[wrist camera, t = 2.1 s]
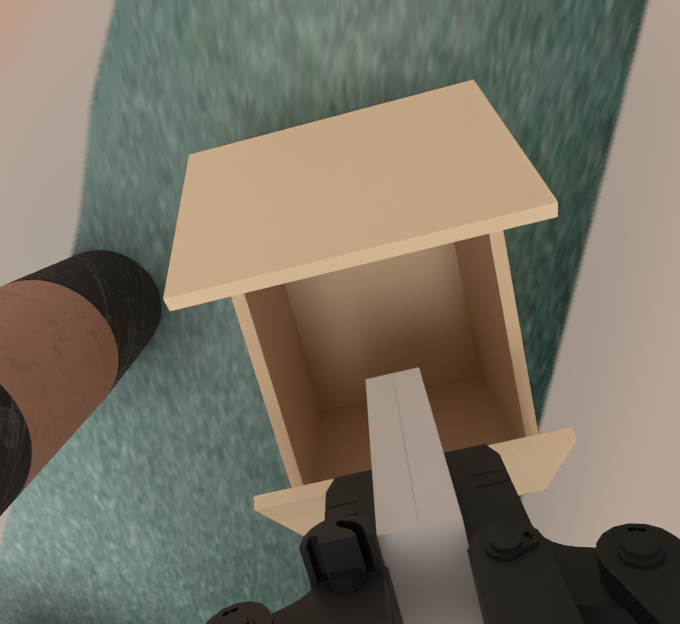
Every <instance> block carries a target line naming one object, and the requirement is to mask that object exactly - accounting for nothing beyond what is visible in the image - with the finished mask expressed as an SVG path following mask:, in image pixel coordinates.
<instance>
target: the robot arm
mask: <svg viewBox="0 0 680 624" xmlns="http://www.w3.org/2000/svg"><path fill="white" fill-rule="evenodd" d="M365 380H366V394H367V408H368V422H369V436H370V449H371V463H372V470H367V471H363V472H358V473H353V474H349V475H344V476H339V477H335V479H334V480H333V482H332V483H331V485H330V487H329V488H328V490H327V491H326V499H325V517H324V521H322V522H320V523H319V524H317V525H316V526H314V527H312V528H311V529H310V530H309V531H308V532H307V534H306V535H305V536H304V537H303V539H302V541H301V544H300V547H299V549H300V552H301V555H302V558H303V561H304V564H305V567H306V570H307V573H308V576H309V579H310V583H311V590H310V591H309V593H307V594H306V595H305V596H304V597H302V598H301V599H300V600H298V601H296V602H295V603H293V604H291V605H289V606H287V607H285V608H283V609H281V610H279V611H277V612H274V613H272V614H270V611H269V609H267V608H266V607H265V606H264V605H262V604H261V603H256V602H251V601H247V602H241V603H235V604H233V605H231V606H229V607H227V608H225V609H222V610H221V611H220V612H218V613H217V614H216V615H215V616H213V617H212V618H211V619H209V621H208V622H207V623H206V624H680V539H679V538H677V537H676V536H674V535H672V534H671V533H669V532H667V531H666V530H664V529H662V528H659V527H655V526H651V525H648V524H624V525H620V526H616V527H613V528H611V529H609V530H608V531H606V532H604V533H603V534H602V535H601V537H600V538H599V540H598V541H597V543H596V548H591V547H573V546H566V545H562V544H558V543H555V542H552V541H550V540H548V539H546V538H544V537H543V536H542V534H541V533H540V532H539V531H538V529H535V528H534V527H533V526H532V524H531V522H530V520H529V518H528V515H527V513H526V511H525V509H524V507H523V504H522V502H521V500H520V498H519V496H518V493H517V491H516V489H515V487H514V485H513V482H512V481H511V478H510V476H509V474H508V471H507V470H506V467H505V465H504V462H503V460H502V458H501V456H500V454H499V453H498V452H496V451H495V450H493V449H492V448H490V447H489V446H488V445H486V444H482V445H477V446H472V447H468V448H463V449H458V450H454V451H449V452H444V453H443V449H442V446H441V442H440V439H439V435H438V432H437V428H436V425H435V421H434V418H433V414H432V411H431V407H430V404H429V401H428V397H427V394H426V390H425V387H424V383H423V380H422V376H421V373H420V369H419V367H418V368H414V369H409V370H405V371H400V372H396V373H391V374H387V375H383V376H378V377H374V378H369V379H365Z"/></svg>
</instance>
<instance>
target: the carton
mask: <svg viewBox="0 0 680 624" xmlns="http://www.w3.org/2000/svg"><path fill="white" fill-rule="evenodd" d="M231 298H232V301H233V305H234V308H235V311H236V314H237V317H238V320H239V323H240V327H241V330H242V333H243V336H244V339H245V342H246V346H247V349H248V352H249V355H250V358H251V361H252V365H253V368H254V371H255V374H256V377H257V380H258V384H259V387H260V390H261V393H262V396H263V399H264V403H265V406H266V409H267V412H268V415H269V418H270V421H271V425H272V428H273V431H274V434H275V437H276V440H277V444H278V447H279V450H280V453H281V456H282V459H283V463H284V466H285V469H286V472H287V475H288V478H289V482H290V485H291V488H294V487H298V486H303V485H307V484H312V483H317V482H321V481H326V480H331V479H335V477H339V476H344V475H349V474H353V473H358V472H363V471H367V470H372V463H371V449H370V436H369V422H368V408H367V394H366V380H365V379H369V378H374V377H378V376H383V375H387V374H391V373H396V372H400V371H405V370H409V369H414V368H418V367H419V369H420V373H421V376H422V380H423V383H424V387H425V390H426V394H427V397H428V401H429V404H430V407H431V411H432V414H433V418H434V421H435V425H436V428H437V432H438V435H439V439H440V442H441V446H442V449H443V453H444V452H449V451H454V450H458V449H463V448H468V447H472V446H477V445H482V444H486V445H492V444H497V443H501V442H506V441H510V440H515V439H520V438H524V437H529V436H533V435H538V429H537V424H536V418H535V412H534V406H533V400H532V395H531V389H530V383H529V377H528V372H527V366H526V360H525V354H524V348H523V343H522V337H521V331H520V325H519V319H518V314H517V308H516V302H515V296H514V291H513V285H512V279H511V273H510V267H509V262H508V256H507V250H506V244H505V239H504V233H503V230H501V231H497V232H493V233H489V234H485V235H481V236H477V237H473V238H469V239H465V240H460V241H456V242H452V243H448V244H444V245H440V246H436V247H432V248H428V249H424V250H419V251H415V252H411V253H407V254H403V255H399V256H395V257H391V258H387V259H383V260H378V261H374V262H370V263H366V264H362V265H358V266H354V267H350V268H346V269H342V270H337V271H333V272H329V273H325V274H321V275H317V276H313V277H309V278H305V279H301V280H296V281H292V282H288V283H284V284H280V285H276V286H272V287H268V288H264V289H260V290H255V291H251V292H247V293H243V294H239V295H235V296H231Z"/></svg>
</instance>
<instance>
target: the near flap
mask: <svg viewBox="0 0 680 624" xmlns="http://www.w3.org/2000/svg"><path fill="white" fill-rule="evenodd" d="M555 217H558V201H557V200H556V199H555V197H554V196H553V194H552V193H551V191H550V190H549V188H548V187H547V185H546V184H545V183H544V181H543V180H542V178H541V177H540V175H539V174H538V172H537V171H536V170H535V168H534V167H533V165H532V164H531V162H530V161H529V159H528V158H527V156H526V155H525V154H524V152H523V151H522V149H521V148H520V146H519V145H518V143H517V142H516V141H515V139H514V138H513V136H512V135H511V133H510V132H509V130H508V129H507V127H506V126H505V125H504V123H503V122H502V120H501V119H500V117H499V116H498V114H497V113H496V112H495V110H494V109H493V107H492V106H491V104H490V103H489V101H488V100H487V98H486V97H485V96H484V94H483V93H482V91H481V90H480V88H479V87H478V85H477V84H476V83H475V81H474V80H470V81H466V82H462V83H459V84H455V85H451V86H447V87H444V88H440V89H436V90H432V91H428V92H425V93H421V94H417V95H413V96H409V97H406V98H402V99H398V100H394V101H391V102H387V103H383V104H379V105H375V106H372V107H368V108H364V109H360V110H357V111H353V112H349V113H345V114H341V115H338V116H334V117H330V118H326V119H322V120H319V121H315V122H311V123H307V124H304V125H300V126H296V127H292V128H288V129H285V130H281V131H277V132H273V133H269V134H266V135H262V136H258V137H254V138H251V139H247V140H243V141H239V142H235V143H232V144H228V145H224V146H220V147H216V148H213V149H209V150H205V151H201V152H198V153H194V154H190V155H189V158H188V164H187V170H186V175H185V181H184V186H183V192H182V197H181V203H180V208H179V214H178V219H177V225H176V230H175V236H174V241H173V247H172V253H171V258H170V264H169V269H168V275H167V280H166V286H165V291H164V297H163V300H164V302H165V303H166V305H167V307H168V309H169V310H170V311H173V310H178V309H182V308H186V307H190V306H194V305H198V304H202V303H206V302H210V301H214V300H219V299H223V298H227V297H231V296H235V295H239V294H243V293H247V292H251V291H255V290H260V289H264V288H268V287H272V286H276V285H280V284H284V283H288V282H292V281H296V280H301V279H305V278H309V277H313V276H317V275H321V274H325V273H329V272H333V271H337V270H342V269H346V268H350V267H354V266H358V265H362V264H366V263H370V262H374V261H378V260H383V259H387V258H391V257H395V256H399V255H403V254H407V253H411V252H415V251H419V250H424V249H428V248H432V247H436V246H440V245H444V244H448V243H452V242H456V241H460V240H465V239H469V238H473V237H477V236H481V235H485V234H489V233H493V232H497V231H501V230H506V229H510V228H514V227H518V226H522V225H526V224H530V223H534V222H538V221H542V220H547V219H551V218H555Z"/></svg>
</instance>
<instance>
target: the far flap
mask: <svg viewBox="0 0 680 624" xmlns="http://www.w3.org/2000/svg"><path fill="white" fill-rule="evenodd" d="M576 442H577V439H576V436H575V434H574V431H573V428H572V427H571V428H566V429H561V430H556V431H552V432H547V433H543V434H538V435H533V436H529V437H524V438H520V439H515V440H510V441H506V442H501V443H497V444H492V445H488V446H489V447H490V448H492V449H493V450H495V451H496V452H498V453H499V454H500V456H501V458H502V460H503V462H504V465H505V467H506V470H507V471H508V474H509V476H510V478H511V481H512V482H513V485H514V487H515V489H516V491H517V493H518V496H519V495H524V494H528V493H533V492H538V491H542V490H546V489H547V487H548V486H549V484H550V482H551V481H552V479H553V478H554V476H555V475H556V473H557V471H558V470H559V468H560V467H561V465H562V464H563V462H564V460H565V459H566V457H567V456H568V454H569V453H570V451H571V449H572V448H573V447H574V445H575V443H576ZM333 480H334V479H331V480H326V481H321V482H317V483H312V484H307V485H303V486H298V487H294V488H289V489H284V490H280V491H275V492H271V493H266V494H261V495H257V496H253V499H254V509H255V511H257V512H259V513H261V514H263V515H264V516H266V517H268V518H270V519H272V520H274V521H276V522H278V523H280V524H281V525H283V526H285V527H287V528H289V529H291V530H293V531H295V532H297V533H298V534H300V535H302V536H305V535H306V534H307V532H308V531H309V530H310V529H311V528H312V527H314V526H316V525H317V524H319V523H320V522H322V521H324V517H325V499H326V491H327V490H328V488H329V487H330V485H331V483H332V482H333Z"/></svg>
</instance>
